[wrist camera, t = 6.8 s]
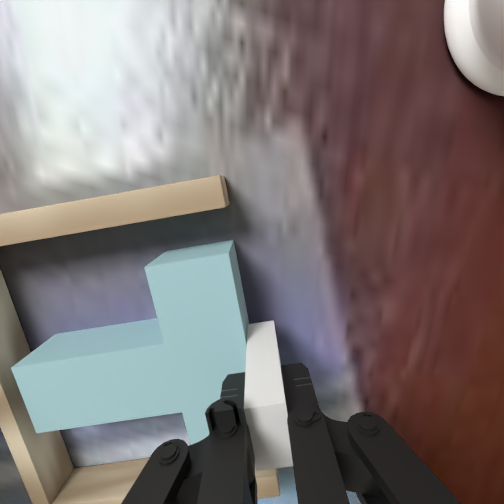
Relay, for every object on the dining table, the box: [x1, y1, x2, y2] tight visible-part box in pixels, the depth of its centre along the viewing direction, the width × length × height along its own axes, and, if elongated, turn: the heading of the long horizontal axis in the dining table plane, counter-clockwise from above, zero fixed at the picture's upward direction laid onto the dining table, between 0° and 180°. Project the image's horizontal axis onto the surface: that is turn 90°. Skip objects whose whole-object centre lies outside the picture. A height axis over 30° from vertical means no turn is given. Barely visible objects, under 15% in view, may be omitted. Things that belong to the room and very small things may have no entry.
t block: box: [11, 240, 249, 445], centre depth 17 cm, size 12×12×4 cm
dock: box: [0, 175, 280, 504], centre depth 18 cm, size 19×15×2 cm
